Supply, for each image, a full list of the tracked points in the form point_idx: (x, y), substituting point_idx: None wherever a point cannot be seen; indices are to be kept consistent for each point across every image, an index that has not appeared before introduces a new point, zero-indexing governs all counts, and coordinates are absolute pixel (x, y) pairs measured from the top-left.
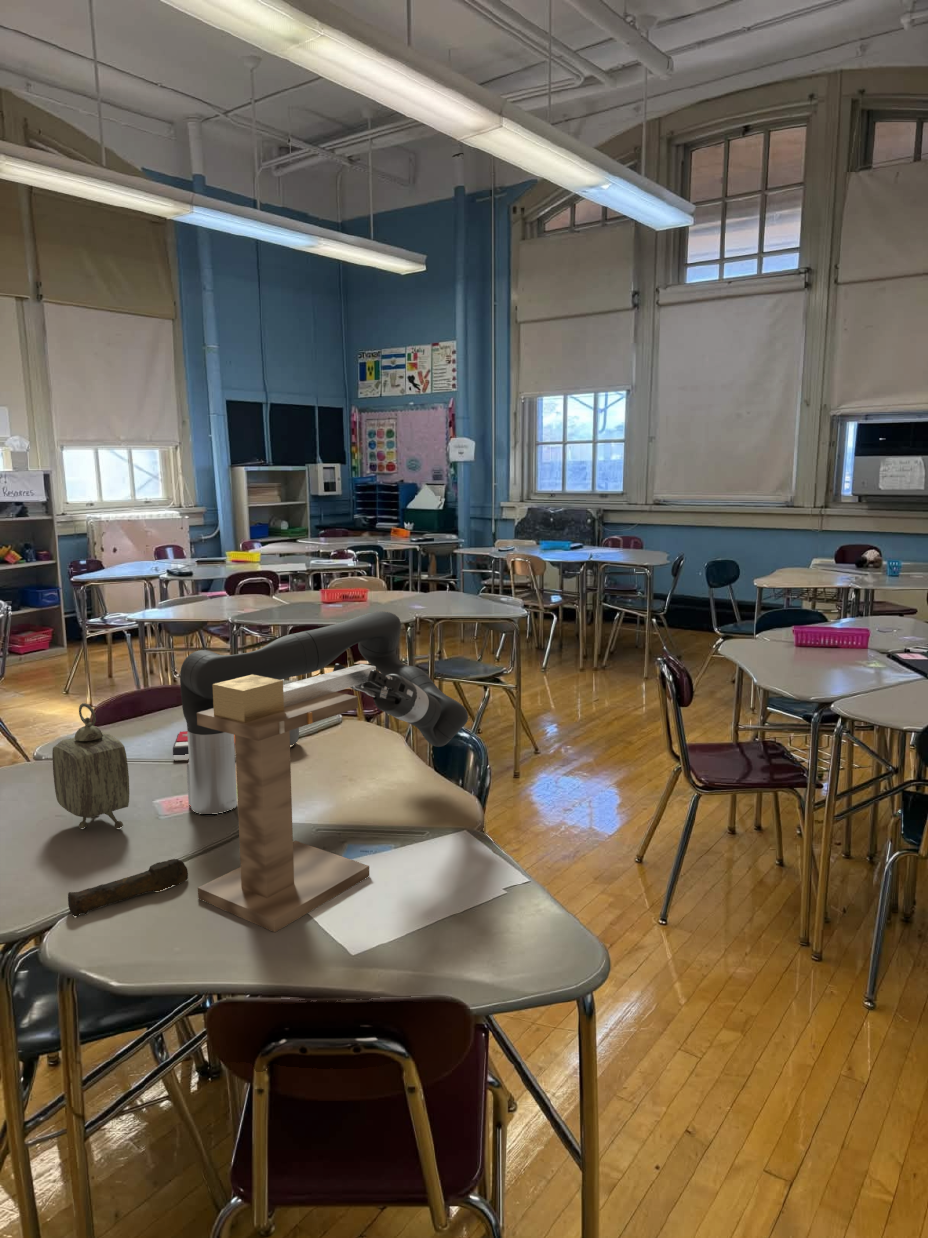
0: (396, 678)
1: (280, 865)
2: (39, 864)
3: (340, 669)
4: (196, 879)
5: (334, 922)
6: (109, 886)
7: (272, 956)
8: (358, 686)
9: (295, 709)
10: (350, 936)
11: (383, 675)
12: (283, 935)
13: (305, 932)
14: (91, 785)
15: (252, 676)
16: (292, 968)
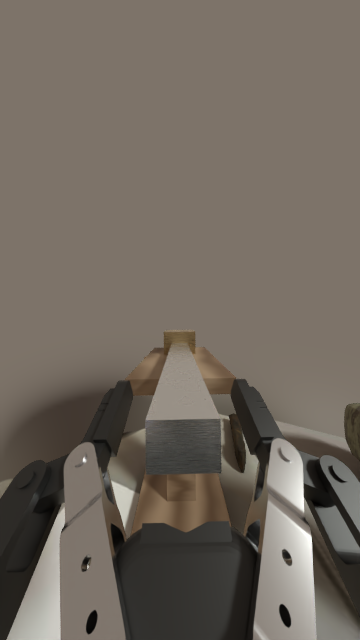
0: (40, 460)
1: None
2: (305, 436)
3: (238, 396)
4: (240, 478)
5: (117, 497)
6: (234, 424)
7: (137, 448)
8: (246, 524)
9: (159, 356)
10: None
11: (100, 425)
12: (142, 464)
13: (131, 474)
14: (346, 427)
15: (190, 331)
16: (123, 447)
